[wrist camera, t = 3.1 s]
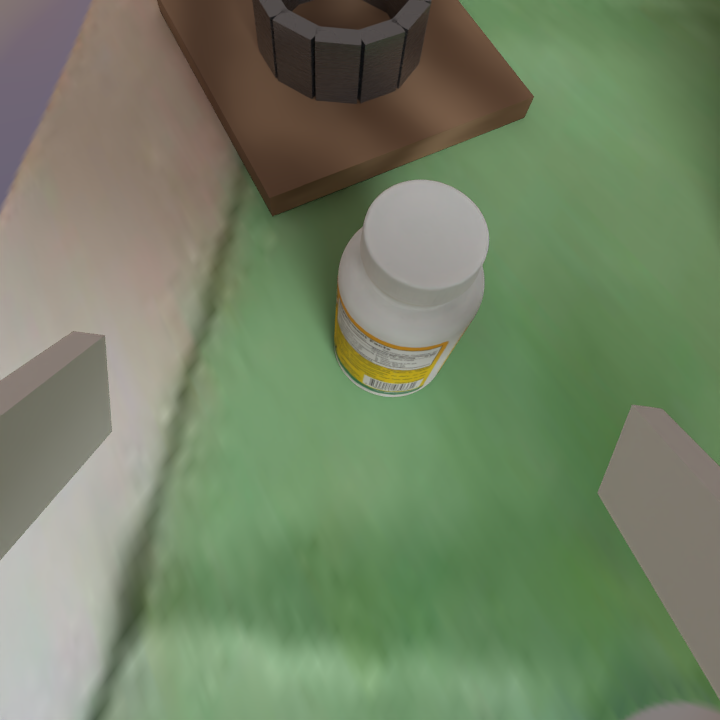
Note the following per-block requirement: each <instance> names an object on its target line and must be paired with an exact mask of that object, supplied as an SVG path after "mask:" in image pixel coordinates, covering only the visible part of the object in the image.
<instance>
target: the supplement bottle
mask: <svg viewBox="0 0 720 720" xmlns="http://www.w3.org/2000/svg"><path fill="white" fill-rule="evenodd" d="M488 247H489V232H488V228H487V224H486V221H485V219H484V217H483V215H482V213H481V212H480V210H479V208H478V207H477V206H476V205H475V204H474V202H473V201H472V200H470V199H469V198H468V197H467V196H466V195H465V194H463V193H462V192H460V191H459V190H457V189H455V188H453V187H451V186H449V185H446V184H443V183H441V182H437V181H431V180H410V181H405V182H401V183H398V184H396V185H394V186H392V187H390V188H388V189H386V190H385V191H383V192H382V193H381V194H380V195H379V196H378V197H377V198H376V199H375V200H374V201H373V203H372V204H371V206H370V207H369V209H368V211H367V214H366V216H365V220H364V224H363V227H362V228H360V229H359V230H358V231H357V232H356V233H355V234H354V235H353V237H352V238H351V239H350V241H349V242H348V244H347V246H346V248H345V250H344V252H343V254H342V257H341V260H340V265H339V271H338V278H337V300H336V315H335V334H334V348H335V355H336V358H337V361H338V363H339V365H340V367H341V369H342V371H343V372H344V373H345V375H346V376H347V377H348V378H349V379H350V380H351V381H352V382H353V383H354V384H355V385H357V386H358V387H360V388H361V389H363V390H365V391H367V392H369V393H372V394H375V395H379V396H385V397H400V396H405V395H409V394H412V393H414V392H416V391H418V390H420V389H422V388H423V387H425V386H426V385H427V384H429V383H430V382H431V381H432V380H433V378H434V377H435V376H436V375H437V373H438V372H439V370H440V369H441V367H442V366H443V364H444V363H445V361H446V360H447V358H448V356H449V355H450V353H451V352H452V350H453V349H454V347H455V346H456V344H457V342H458V341H459V339H460V338H461V336H462V335H463V334H464V332H465V331H466V329H467V327H468V326H469V324H470V323H471V321H472V320H473V318H474V317H475V315H476V313H477V311H478V309H479V307H480V304H481V301H482V298H483V293H484V271H483V266H482V265H483V263H484V260H485V258H486V255H487V252H488Z"/></svg>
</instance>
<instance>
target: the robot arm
mask: <svg viewBox="0 0 720 720" xmlns="http://www.w3.org/2000/svg"><path fill="white" fill-rule="evenodd" d="M111 432H112V426H111V412H110V399H109V386H108V372H107V359H106V345H105V335H98V334H90V333H83V332H75V331H73V332H71V333H70V334H68V335H67V336H65V337H64V338H63V339H61V340H60V341H58V342H57V343H55V344H54V345H52V346H51V347H49V348H48V349H46V350H45V351H43V352H42V353H40V354H39V355H38V356H36V357H35V358H33V359H32V360H30V361H29V362H27V363H26V364H24V365H23V366H21V367H20V368H18V369H17V370H16V371H14V372H13V373H11V374H10V375H8V376H7V377H5V378H4V379H2V380H1V381H0V560H1V559H2V558H3V556H4V555H5V554H6V553H7V552H8V551H9V550H10V548H11V547H12V546H13V545H14V544H15V543H16V541H17V540H18V539H19V538H20V537H21V536H22V535H23V533H24V532H25V531H26V530H27V529H28V528H29V526H30V525H31V524H32V523H33V522H34V521H35V520H36V518H37V517H38V516H39V515H40V514H41V513H42V511H43V510H44V509H45V508H46V507H47V506H48V505H49V503H50V502H51V501H52V500H53V499H54V498H55V496H56V495H57V494H58V493H59V492H60V491H61V490H62V488H63V487H64V486H65V485H66V484H67V483H68V481H69V480H70V479H71V478H72V477H73V476H74V475H75V473H76V472H77V471H78V470H79V469H80V468H81V466H82V465H83V464H84V463H85V462H86V461H87V460H88V458H89V457H90V456H91V455H92V454H93V453H94V451H95V450H96V449H97V448H98V447H99V446H100V445H101V443H102V442H103V441H104V440H105V439H106V438H107V436H108V435H109V434H110V433H111ZM598 495H599V497H600V498H601V500H602V502H603V503H604V505H605V507H606V508H607V510H608V512H609V513H610V515H611V517H612V519H613V520H614V522H615V524H616V525H617V527H618V529H619V530H620V532H621V534H622V535H623V537H624V539H625V540H626V542H627V544H628V546H629V547H630V549H631V551H632V552H633V554H634V556H635V557H636V559H637V561H638V562H639V564H640V566H641V568H642V569H643V571H644V573H645V574H646V576H647V578H648V579H649V581H650V583H651V584H652V586H653V588H654V589H655V591H656V593H657V595H658V596H659V598H660V600H661V601H662V603H663V605H664V606H665V608H666V610H667V611H668V613H669V615H670V616H671V618H672V620H673V622H674V623H675V625H676V627H677V628H678V630H679V632H680V633H681V635H682V637H683V638H684V640H685V642H686V644H687V645H688V647H689V649H690V650H691V652H692V654H693V655H694V657H695V659H696V660H697V662H698V664H699V665H700V667H701V669H702V671H703V672H704V674H705V676H706V677H707V679H708V681H709V682H710V684H711V686H712V687H713V689H714V691H715V693H716V694H717V696H718V698H719V699H720V467H719V465H718V464H717V463H716V462H715V461H714V460H713V459H712V458H711V457H710V456H709V455H708V454H707V453H706V452H705V451H704V450H703V449H702V448H701V447H700V446H699V445H698V444H697V443H696V442H695V441H694V440H693V439H692V438H691V437H690V436H689V435H688V434H687V433H686V432H685V431H684V430H683V429H682V428H681V427H680V426H679V425H678V424H677V423H676V422H675V421H674V420H673V419H672V418H671V417H670V416H669V415H668V414H667V413H666V412H665V411H664V410H663V409H661V408H653V407H645V406H638V405H632V406H631V409H630V411H629V414H628V416H627V419H626V421H625V424H624V427H623V429H622V432H621V434H620V437H619V439H618V442H617V444H616V447H615V450H614V452H613V455H612V457H611V460H610V462H609V465H608V467H607V470H606V473H605V475H604V478H603V480H602V483H601V485H600V488H599V490H598Z"/></svg>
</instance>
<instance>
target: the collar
mask: <svg viewBox="0 0 720 720" xmlns="http://www.w3.org/2000/svg"><path fill="white" fill-rule="evenodd" d="M309 1H313V0H252V2H253V10H254V17H255V25H256V33H257V41H258V48H259V52H260V53H261V55H262V57H263V58H264V60H265V62H266V63H267V65H268V67H269V68H270V70H271V72H272V73H273V75H274V77H275V78H278V81H279V82H281V83H283V84H285V85H287V86H288V87H290V88H292V89H294V90H296V91H297V92H299V93H301V94H303V95H305V96H307V97H308V98H310V99H313V98H314V97H315V96H316V101H327V102H339V103H351V104H357V99H358V101H359V102H360V103H363V102H366V101H369V100H372V99H375V98H377V97H380V96H383V95H386V94H389V93H391V92H394V91H396V88H398V89H399V88H400V87H401V86H402V84H403V83H404V82H405V81H406V79H407V78H408V77H409V76H410V75H411V73H412V72H413V71H414V70H415V69H416V67H417V66H418V65H419V62H420V57H421V52H422V47H423V42H424V37H425V32H426V27H427V22H428V17H429V11H430V6H431V0H363V1H364V2H366V3H368V4H370V5H372V6H374V7H376V8H378V9H380V10H382V11H384V12H386V13H387V14H388V15H389V17H390V18H391V20H388V21H384V22H381V23H378V24H375V25H372V26H369V27H366V28H363V29H360V30H355V29H344V28H333V27H321V26H318V25H316V24H314V23H312V22H310V21H308V20H307V19H305V18H303V17H301V16H299V15H297V14H295V13H293V12H292V11H293V10H294V9H295V8H296V7H297V6H298V5H300V4H303V3H306V2H309Z"/></svg>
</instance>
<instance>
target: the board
mask: <svg viewBox="0 0 720 720" xmlns="http://www.w3.org/2000/svg"><path fill="white" fill-rule="evenodd" d="M157 1H158V5H159V8H160V11H161V13H162V15H163V17H164V19H165V21H166V23H167V24H168V26H169V28H170V30H171V32H172V34H173V35H174V37H175V39H176V41H177V43H178V45H179V46H180V48H181V50H182V52H183V54H184V55H185V57H186V59H187V61H188V63H189V65H190V66H191V68H192V70H193V72H194V74H195V76H196V77H197V79H198V81H199V83H200V85H201V87H202V88H203V90H204V92H205V94H206V96H207V98H208V99H209V101H210V103H211V105H212V107H213V109H214V110H215V112H216V114H217V116H218V118H219V119H220V121H221V123H222V125H223V127H224V129H225V130H226V132H227V134H228V136H229V138H230V140H231V141H232V143H233V145H234V147H235V149H236V151H237V152H238V154H239V156H240V158H241V160H242V162H243V163H244V165H245V167H246V169H247V171H248V173H249V174H250V176H251V178H252V180H253V182H254V183H255V185H256V187H257V189H258V191H259V193H260V194H261V196H262V198H263V200H264V202H265V204H266V205H267V207H268V209H269V211H270V213H271V215H272V216H274V215H277V214H280V213H282V212H285V211H287V210H290V209H292V208H295V207H297V206H300V205H302V204H305V203H308V202H310V201H313V200H315V199H318V198H320V197H323V196H325V195H328V194H331V193H333V192H336V191H338V190H341V189H343V188H346V187H348V186H351V185H354V184H356V183H359V182H361V181H364V180H366V179H369V178H371V177H374V176H376V175H379V174H382V173H384V172H387V171H389V170H392V169H394V168H397V167H399V166H402V165H405V164H407V163H410V162H412V161H415V160H417V159H420V158H422V157H425V156H427V155H430V154H433V153H435V152H438V151H440V150H443V149H445V148H448V147H450V146H453V145H456V144H458V143H461V142H463V141H466V140H468V139H471V138H473V137H476V136H479V135H481V134H484V133H486V132H489V131H491V130H494V129H496V128H499V127H501V126H504V125H507V124H509V123H512V122H514V121H517V120H519V119H522V118H524V117H525V115H526V113H527V111H528V109H529V106H530V104H531V102H532V100H533V98H534V96H533V95H532V94H531V92H530V91H529V90H528V89H527V87H526V86H525V85H524V83H523V82H522V81H521V80H520V78H519V77H518V76H517V75H516V73H515V72H514V71H513V69H512V68H511V67H510V66H509V64H508V63H507V62H506V61H505V59H504V58H503V57H502V55H501V54H500V53H499V52H498V50H497V49H496V48H495V47H494V45H493V44H492V43H491V41H490V40H489V39H488V38H487V36H486V35H485V34H484V33H483V31H482V30H481V29H480V27H479V26H478V25H477V24H476V22H475V21H474V20H473V19H472V17H471V16H470V15H469V13H468V12H467V11H466V10H465V8H464V7H463V6H462V5H461V3H460V2H459V1H458V0H431V6H430V11H429V17H428V22H427V27H426V32H425V37H424V42H423V47H422V52H421V57H420V62H419V65H418V66H417V67H416V69H415V70H414V71H413V72H412V73H411V75H410V76H409V77H408V78H407V79H406V81H405V82H404V83H403V84H402V86H401V87H400V88H399V89H398V88H396V91H394V92H391V93H389V94H386V95H383V96H380V97H377V98H375V99H372V100H369V101H366V102H363V103H360V102H359V101H358V99H357V104H351V103H339V102H327V101H316V96H315V97H314V98H313V99H310V98H308V97H307V96H305V95H303V94H301V93H299V92H297V91H296V90H294V89H292V88H290V87H288V86H287V85H285V84H283V83H281V82H279V81H278V78H275V77H274V75H273V73H272V72H271V70H270V68H269V67H268V65H267V63H266V62H265V60H264V58H263V57H262V55H261V53H260V52H259V48H258V41H257V33H256V25H255V17H254V10H253V2H252V0H157ZM292 12H293V13H295V14H297V15H299V16H301V17H303V18H305V19H307V20H308V21H310V22H312V23H314V24H316V25H318V26H321V27H333V28H344V29H355V30H360V29H363V28H366V27H369V26H372V25H375V24H378V23H381V22H384V21H388V20H391V18H390V17H389V15H388V14H387V13H386V12H384V11H382V10H380V9H378V8H376V7H374V6H372V5H370V4H368V3H366V2H364V1H363V0H313V1H309V2H306V3H303V4H300V5H298V6H297V7H296V8H295V9H294V10H293V11H292Z"/></svg>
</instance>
